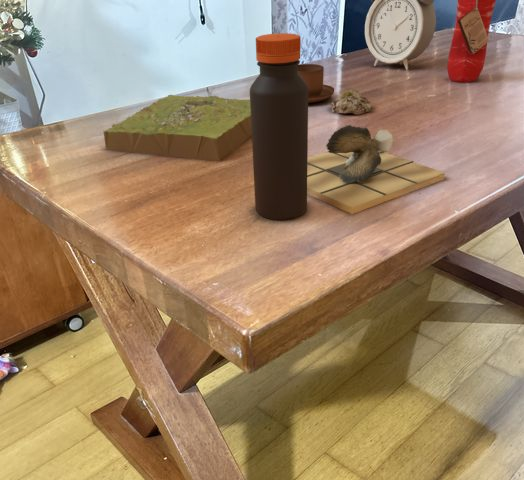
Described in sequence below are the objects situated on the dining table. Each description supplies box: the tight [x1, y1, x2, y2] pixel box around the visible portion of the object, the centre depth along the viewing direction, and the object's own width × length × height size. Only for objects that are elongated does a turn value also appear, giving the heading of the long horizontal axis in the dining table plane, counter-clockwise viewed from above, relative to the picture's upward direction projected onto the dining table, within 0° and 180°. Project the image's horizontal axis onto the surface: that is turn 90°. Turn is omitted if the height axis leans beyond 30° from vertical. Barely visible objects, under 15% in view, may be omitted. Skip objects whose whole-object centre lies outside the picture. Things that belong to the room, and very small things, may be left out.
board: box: [307, 150, 446, 215], centre depth 79 cm, size 18×18×1 cm
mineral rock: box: [330, 89, 373, 116], centre depth 107 cm, size 11×4×8 cm
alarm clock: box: [364, 0, 437, 71], centre depth 130 cm, size 16×9×22 cm, turn 49°
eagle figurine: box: [325, 124, 394, 183], centre depth 76 cm, size 8×7×9 cm
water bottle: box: [446, 0, 497, 83], centre depth 114 cm, size 12×8×25 cm, turn 159°
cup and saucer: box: [297, 63, 335, 104], centre depth 113 cm, size 12×12×6 cm
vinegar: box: [249, 32, 309, 221], centre depth 65 cm, size 7×7×20 cm
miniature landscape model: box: [103, 94, 252, 162], centre depth 97 cm, size 22×24×5 cm
